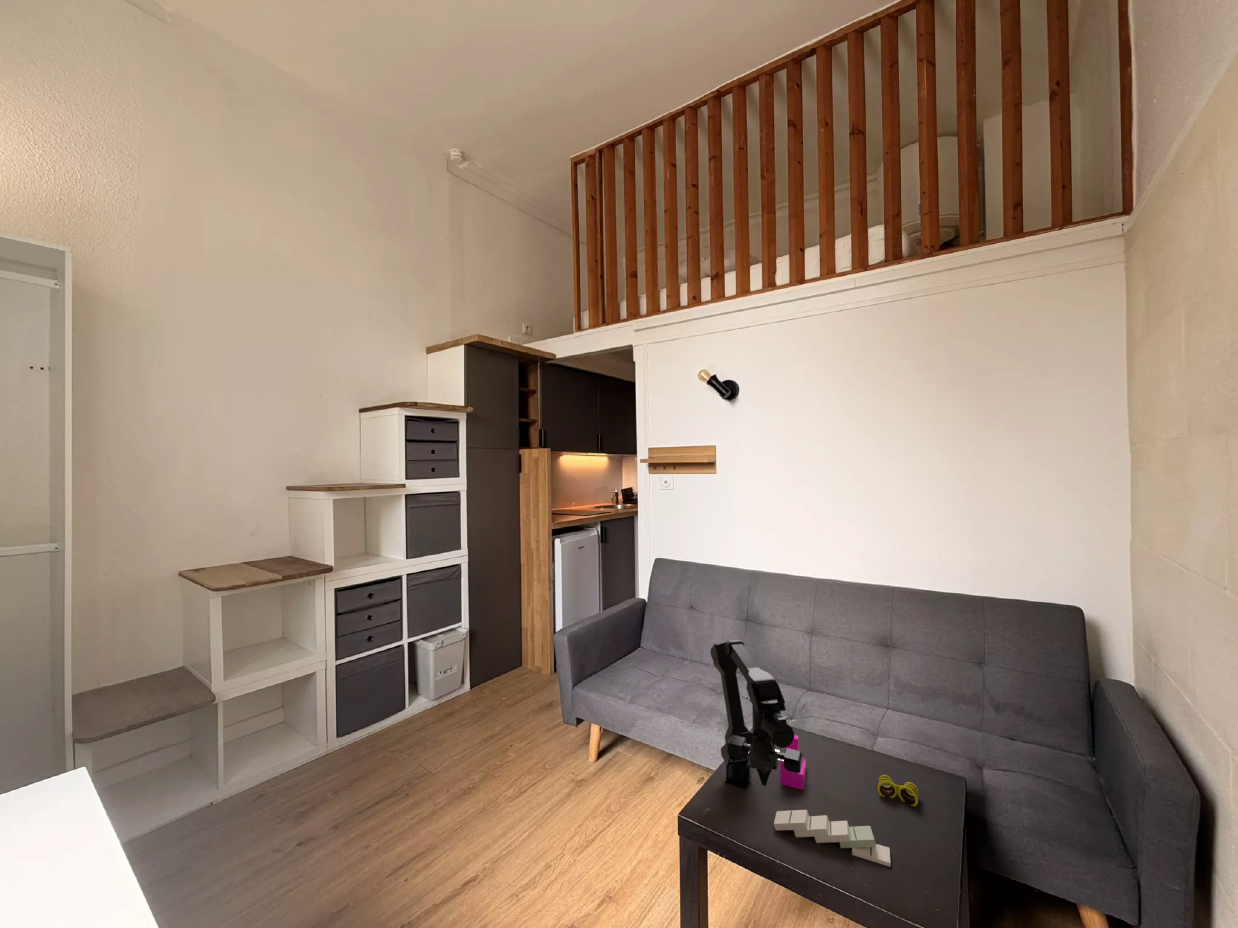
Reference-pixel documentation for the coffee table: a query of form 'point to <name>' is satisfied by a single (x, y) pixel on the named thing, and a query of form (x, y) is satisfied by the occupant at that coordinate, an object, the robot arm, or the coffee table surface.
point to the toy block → (791, 777)
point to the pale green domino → (859, 838)
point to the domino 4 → (874, 854)
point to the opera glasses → (901, 790)
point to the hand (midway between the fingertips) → (764, 784)
